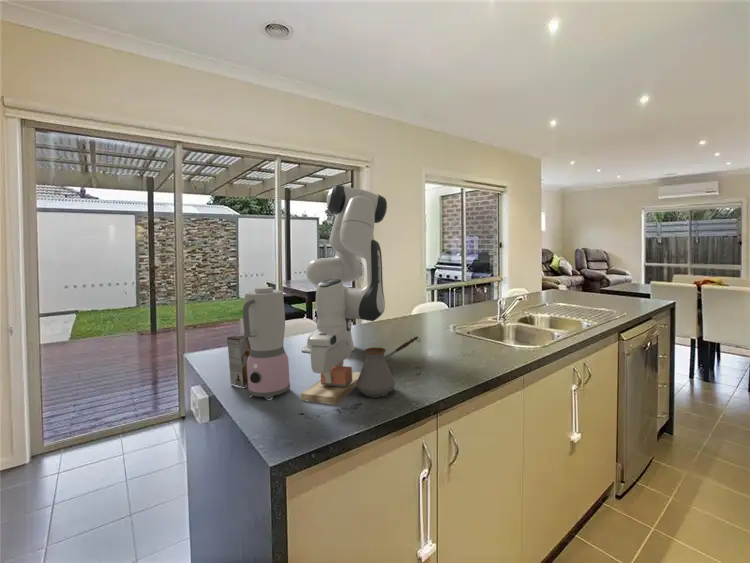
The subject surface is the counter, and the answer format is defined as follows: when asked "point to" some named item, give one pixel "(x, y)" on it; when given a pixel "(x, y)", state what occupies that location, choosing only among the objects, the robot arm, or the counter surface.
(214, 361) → the counter surface
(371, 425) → the counter surface
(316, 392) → the maple board
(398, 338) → the counter surface
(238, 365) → the coffee box
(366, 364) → the coffee pot
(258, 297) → the blender
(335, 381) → the block
